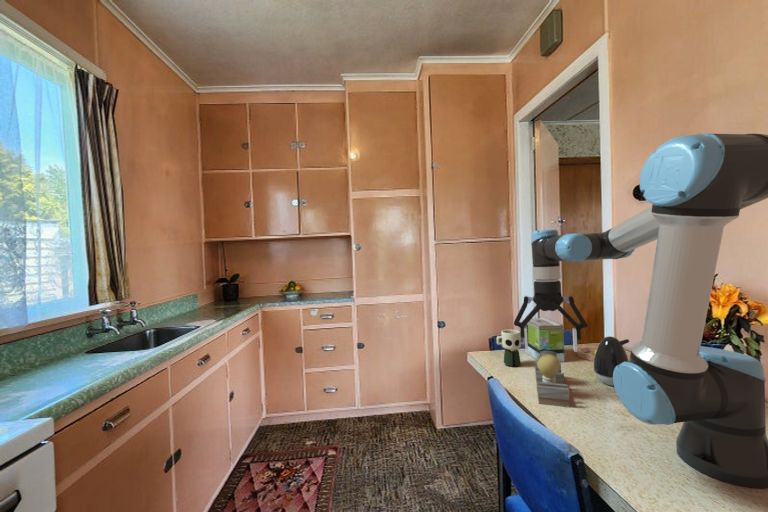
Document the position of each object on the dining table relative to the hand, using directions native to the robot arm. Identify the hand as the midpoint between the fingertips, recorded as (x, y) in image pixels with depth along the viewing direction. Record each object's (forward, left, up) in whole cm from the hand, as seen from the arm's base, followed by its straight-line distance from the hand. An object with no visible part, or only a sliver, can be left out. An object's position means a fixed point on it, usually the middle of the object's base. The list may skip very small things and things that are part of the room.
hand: (550, 349), depth 106 cm
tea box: (+38, 0, -14) cm, 41 cm away
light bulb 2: (+40, -20, -14) cm, 47 cm away
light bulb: (0, +1, -12) cm, 12 cm away
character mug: (+25, +12, -14) cm, 31 cm away
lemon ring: (+43, -20, -14) cm, 50 cm away
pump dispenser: (+14, -19, -14) cm, 28 cm away
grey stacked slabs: (+4, 0, -14) cm, 15 cm away
